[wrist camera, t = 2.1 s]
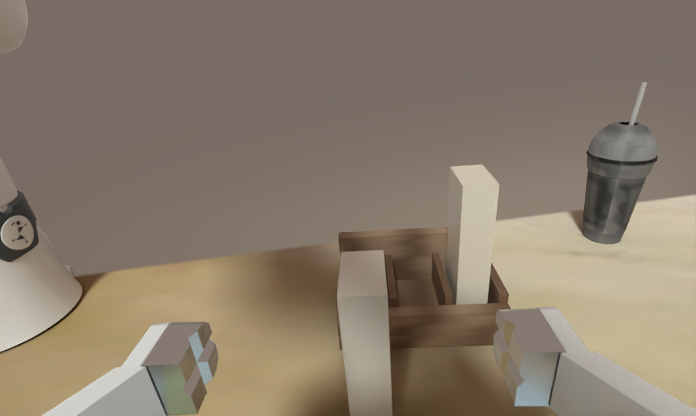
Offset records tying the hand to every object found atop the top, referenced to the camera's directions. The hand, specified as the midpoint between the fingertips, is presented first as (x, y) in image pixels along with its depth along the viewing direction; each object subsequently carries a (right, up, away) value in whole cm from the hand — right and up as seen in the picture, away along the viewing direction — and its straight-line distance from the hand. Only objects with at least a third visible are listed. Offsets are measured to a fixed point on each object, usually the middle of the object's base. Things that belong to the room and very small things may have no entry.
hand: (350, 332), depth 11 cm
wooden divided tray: (+7, -8, +30) cm, 32 cm away
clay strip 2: (+12, -6, +29) cm, 32 cm away
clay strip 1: (+2, -13, +20) cm, 24 cm away
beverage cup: (+35, 0, +41) cm, 54 cm away
